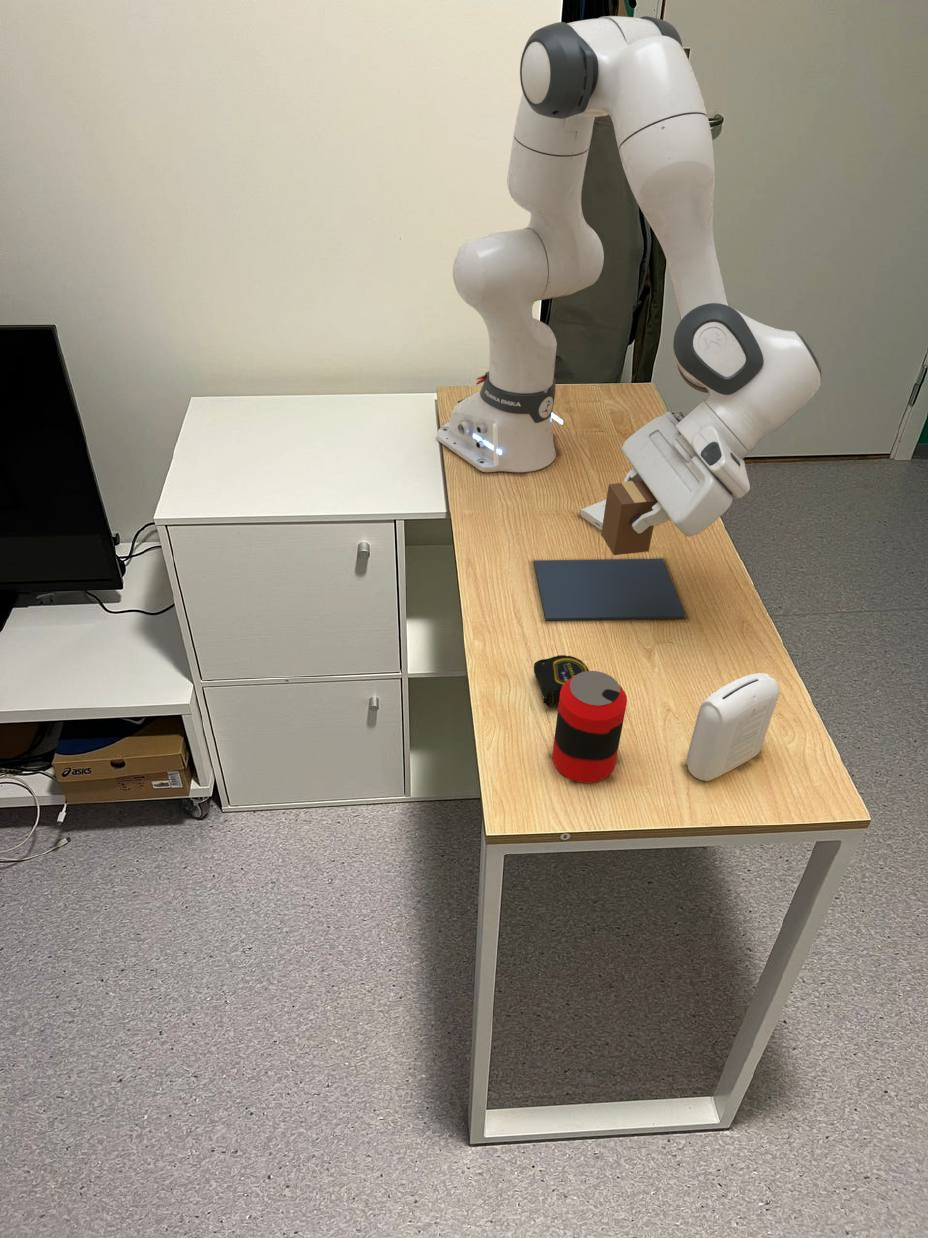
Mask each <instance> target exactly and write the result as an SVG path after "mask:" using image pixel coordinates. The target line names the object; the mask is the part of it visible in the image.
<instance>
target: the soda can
mask: <svg viewBox="0 0 928 1238" xmlns="http://www.w3.org/2000/svg"><path fill="white" fill-rule="evenodd" d="M627 704H628V696H627V694H626V691H625V690H624V688H623V687H622V686H621V685H620V684H619V682H618V680H616V679H615V678H614V677H613V676H611V675H610V674H608V673H605V672H603V671H598V670H589V671H585V672H581V673H579V674H577V675H575V676H574V677H572V678H571V679H569V680H568V681H566V682H565V683H564V685H563V686H562V688H561V691H560V698H559V703H558V707H557V714H556V722H555V731H554V739H553V746H552V752H551V753H552V755H551V756H552V762H553V765H554V767H555V768H556V769H557V771H559V773H561V774H562V775H563V776H564V777H566V778H568V779H569V780H572V781H575V782H578V783H585V784H589V783H596V782H600V781H602V780H604V779H606V778H607V777H609V776H610V775H611V774H612V773H613V771H614V770H615V767H616V762H617V757H618V751H619V746H620V741H621V735H622V730H623V725H624V720H625V715H626V709H627Z"/></svg>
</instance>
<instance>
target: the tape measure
mask: <svg viewBox="0 0 928 1238" xmlns="http://www.w3.org/2000/svg"><path fill="white" fill-rule="evenodd" d="M585 671H590V670H589V668H588V666H587V665H586V664H585V663H584V662H583V660H581V659H579V658H577V657H575V656H572V655H566V654H561V655H560V654H559V655H556V656H552V657H549V658H543V659H542V658H541V659H539V660H537V661H535V662H534V663H533V672H534V673H533V674H534V676H535V678H536V681H537V682H538V684H539V686H540V691H541V695H542V697H543V698H542V700H543V701H542V703H543V704H545V705H546V706H547V707H553V706H555V707H556V706H557V705H558V704H559V698H560V691H561V688H562V686H563V685H564V683H565V682H566V681H568V680H569V679H571V678H572V677H574V676H575V675H577V674H579V673H581V672H585Z"/></svg>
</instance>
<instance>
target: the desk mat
mask: <svg viewBox="0 0 928 1238" xmlns="http://www.w3.org/2000/svg"><path fill="white" fill-rule="evenodd" d="M665 563H666V562H665V560H664V558H618V559H617V558H613V559H609V558H608V559H547V560H545V559H544V560H541V559H540V560H539V559H538V560H534V561H533V566H534V570H535V575H536V580H537V585H538V590H539V595H540V599H541V604H542V609H543V613H544V619H545V621H546V622H555V621H559V622H560V621H604V620H605V621H606V620H607V621H609V620H610V621H611V620H612V621H613V620H616V621H617V620H618V621H619V620H660V619H661V620H662V619H663V620H664V619H665V620H669V619H671V620H672V619H686V618H685V617H686V615H685V612H684V610H683V607H682V605H681V602H680V599H679V596H678V594H677V592H676V589H675V587H674V583H673V581H672V578H671V576H670V573H669V571H668V569H667V566H666V564H665Z"/></svg>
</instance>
